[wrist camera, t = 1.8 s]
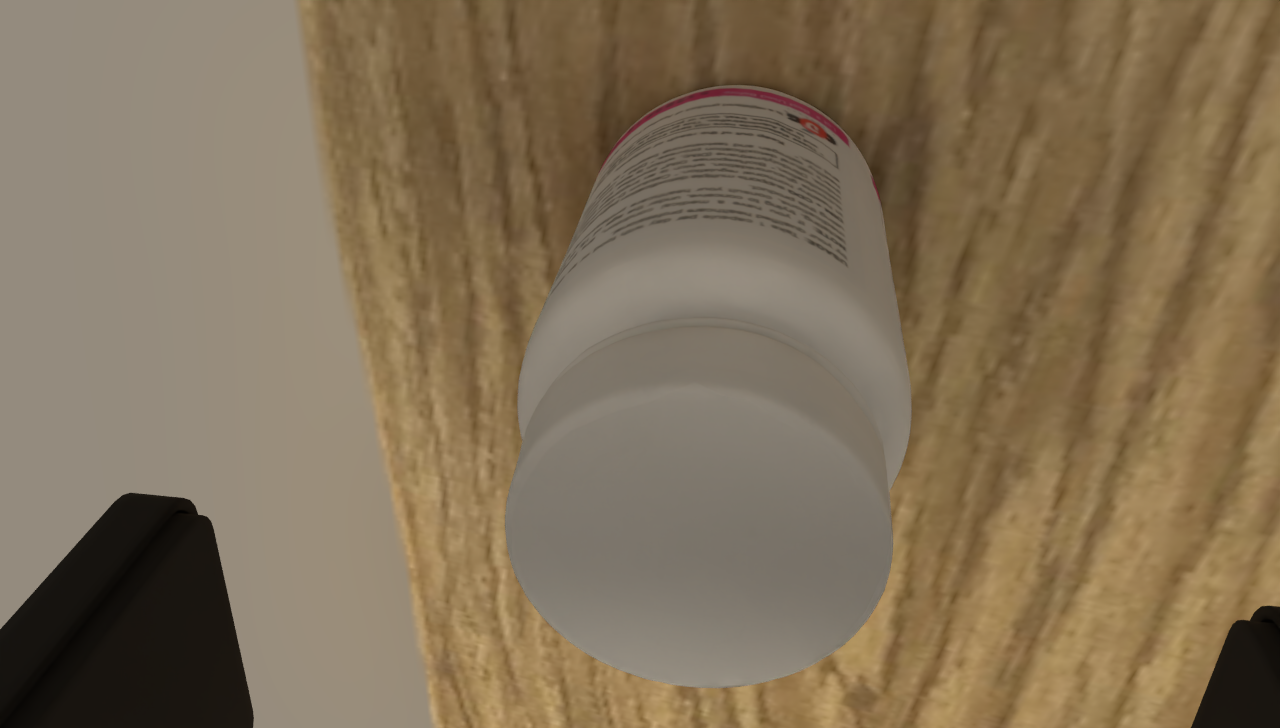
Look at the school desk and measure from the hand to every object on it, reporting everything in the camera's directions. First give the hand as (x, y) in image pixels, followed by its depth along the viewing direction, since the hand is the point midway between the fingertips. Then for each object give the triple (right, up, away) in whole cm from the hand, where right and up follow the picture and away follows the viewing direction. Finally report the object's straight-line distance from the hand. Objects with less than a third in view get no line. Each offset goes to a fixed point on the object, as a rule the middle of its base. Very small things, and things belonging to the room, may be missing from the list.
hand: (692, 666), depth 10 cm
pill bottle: (+1, +5, +8) cm, 10 cm away
